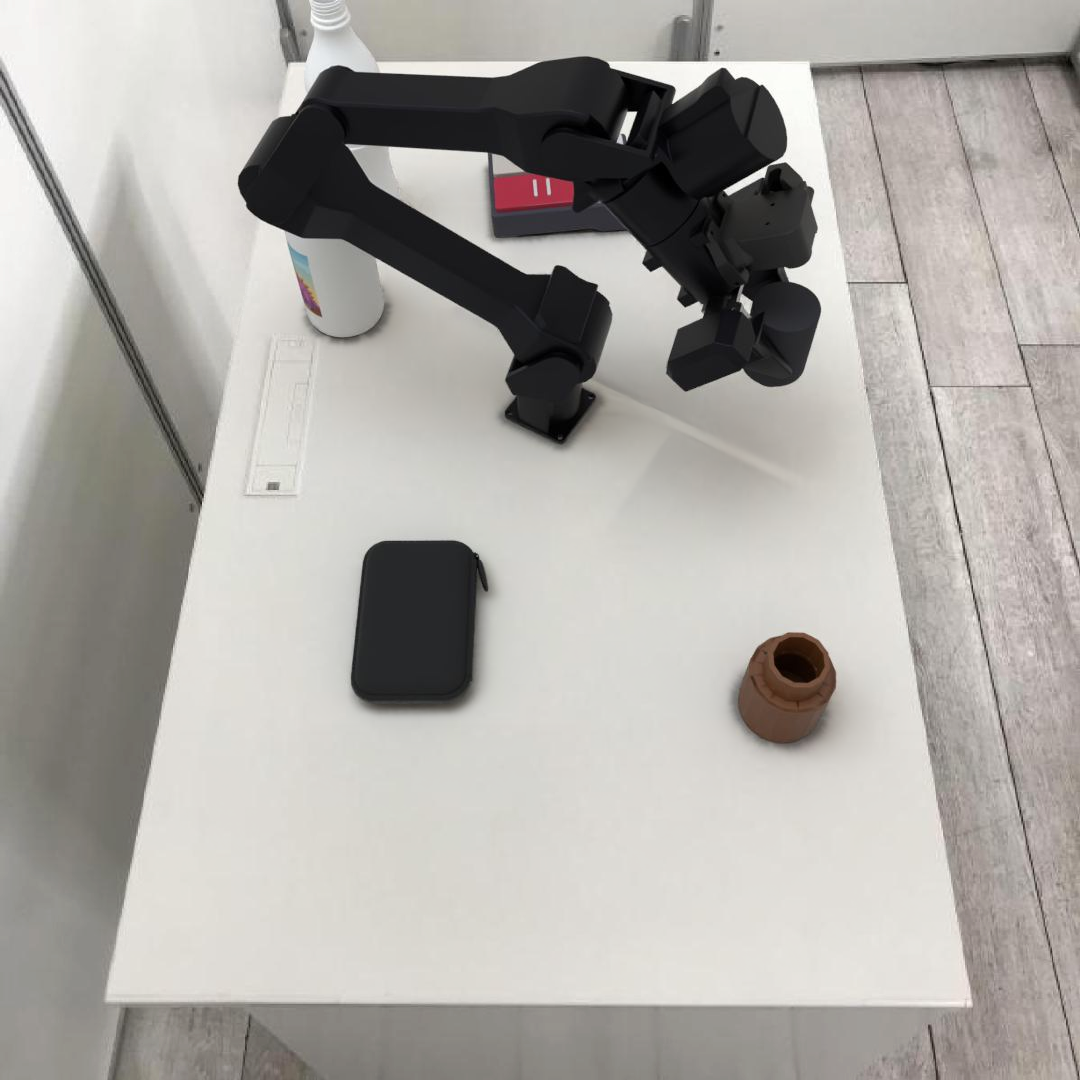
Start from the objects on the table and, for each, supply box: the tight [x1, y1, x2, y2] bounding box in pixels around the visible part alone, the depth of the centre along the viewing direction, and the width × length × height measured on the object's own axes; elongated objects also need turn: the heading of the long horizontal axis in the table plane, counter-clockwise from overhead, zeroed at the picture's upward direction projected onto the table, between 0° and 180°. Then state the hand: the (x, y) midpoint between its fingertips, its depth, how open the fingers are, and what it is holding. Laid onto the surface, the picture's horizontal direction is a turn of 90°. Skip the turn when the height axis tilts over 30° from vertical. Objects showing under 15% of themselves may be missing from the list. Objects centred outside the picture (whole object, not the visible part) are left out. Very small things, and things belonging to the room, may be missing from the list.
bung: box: [742, 281, 822, 388], centre depth 84 cm, size 5×5×8 cm
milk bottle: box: [284, 231, 385, 338], centre depth 99 cm, size 8×8×20 cm
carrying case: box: [350, 539, 489, 704], centre depth 87 cm, size 11×3×15 cm
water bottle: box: [303, 0, 401, 200], centre depth 103 cm, size 7×7×25 cm
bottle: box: [737, 631, 837, 744], centre depth 81 cm, size 6×6×8 cm
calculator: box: [487, 133, 627, 238], centre depth 113 cm, size 11×4×15 cm
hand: (793, 350), depth 85 cm, fingers closed on bung, 5 cm apart
